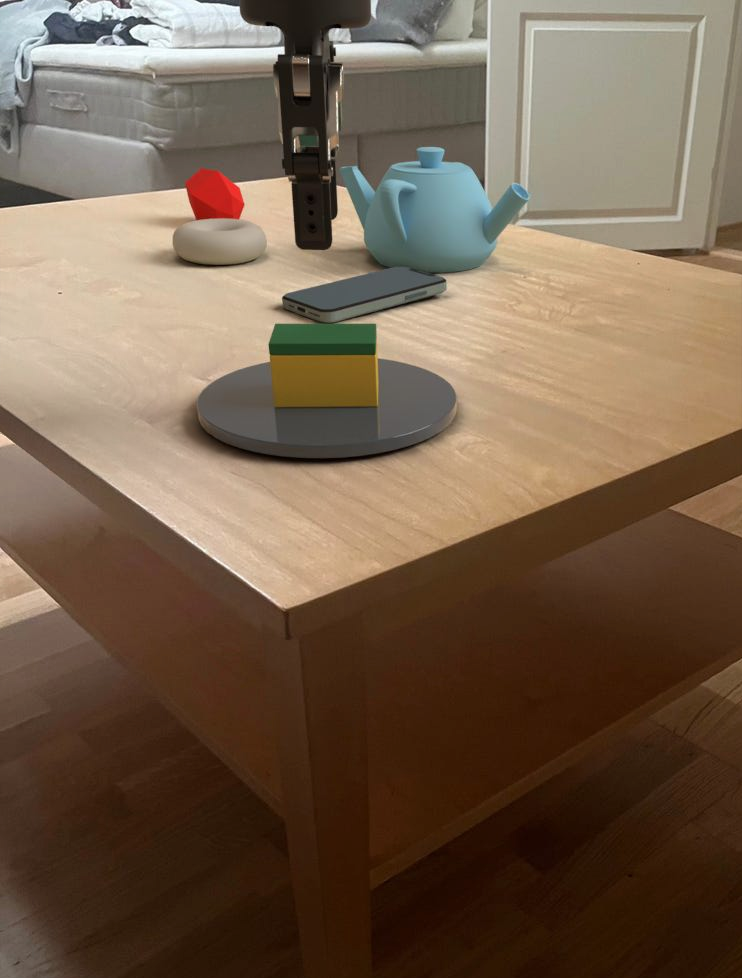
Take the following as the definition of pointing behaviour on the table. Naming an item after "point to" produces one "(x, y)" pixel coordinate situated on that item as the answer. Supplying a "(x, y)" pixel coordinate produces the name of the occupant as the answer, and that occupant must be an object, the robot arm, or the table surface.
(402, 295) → the smartphone
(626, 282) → the table surface
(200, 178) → the faceted red jewel
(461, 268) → the teapot
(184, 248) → the donut
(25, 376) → the table surface
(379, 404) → the plate
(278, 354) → the sponge
